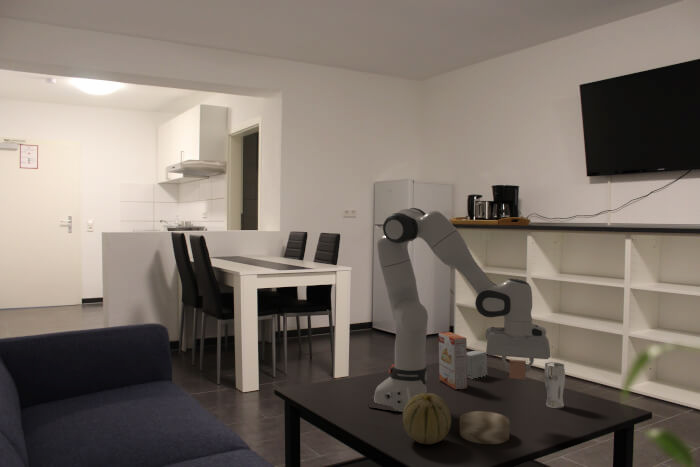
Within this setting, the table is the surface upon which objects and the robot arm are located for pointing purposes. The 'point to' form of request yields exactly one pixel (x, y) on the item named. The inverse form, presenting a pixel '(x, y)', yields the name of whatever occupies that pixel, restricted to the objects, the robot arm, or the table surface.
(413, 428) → the cantaloupe
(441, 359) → the cracker box
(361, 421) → the table surface
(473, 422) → the birch pedestal
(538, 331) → the robot arm
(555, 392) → the beer glass
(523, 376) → the terracotta cube
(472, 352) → the skincare box
